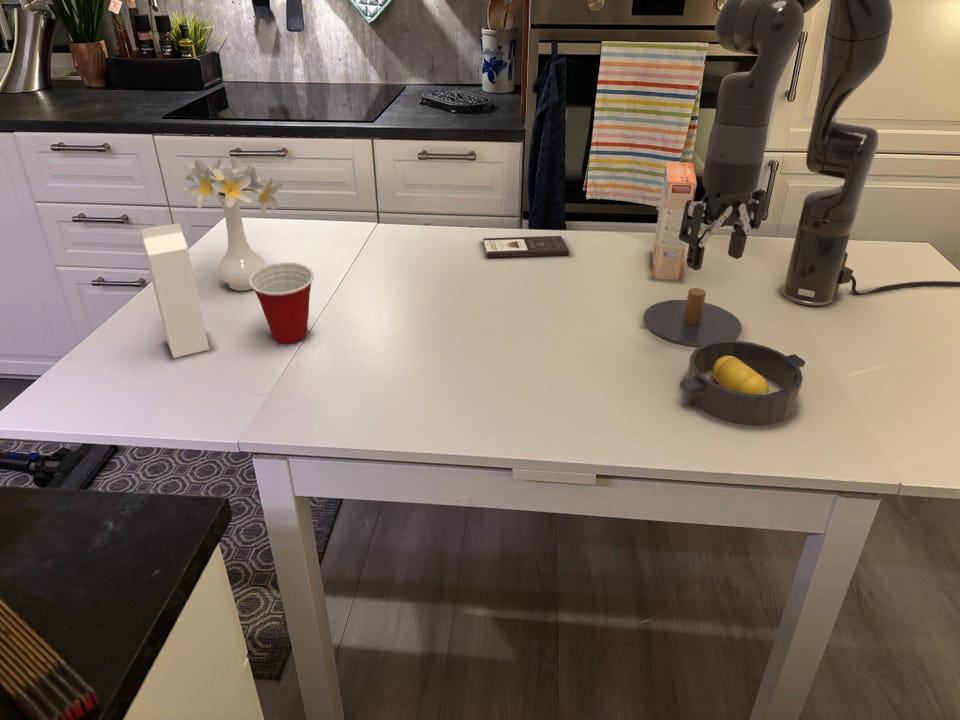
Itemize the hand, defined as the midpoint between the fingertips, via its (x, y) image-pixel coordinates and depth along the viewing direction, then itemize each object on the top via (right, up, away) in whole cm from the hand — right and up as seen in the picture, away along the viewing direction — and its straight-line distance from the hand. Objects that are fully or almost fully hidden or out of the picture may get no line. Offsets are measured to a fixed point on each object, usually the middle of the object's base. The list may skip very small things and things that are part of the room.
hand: (714, 262), depth 111 cm
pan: (+6, -20, +5) cm, 22 cm away
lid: (+4, -8, +25) cm, 26 cm away
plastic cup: (-69, -11, +21) cm, 73 cm away
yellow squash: (+6, -20, +5) cm, 21 cm away
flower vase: (-82, +1, +39) cm, 91 cm away
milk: (-86, -12, +18) cm, 88 cm away
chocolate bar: (-25, +10, +56) cm, 62 cm away
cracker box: (+5, +5, +48) cm, 48 cm away
